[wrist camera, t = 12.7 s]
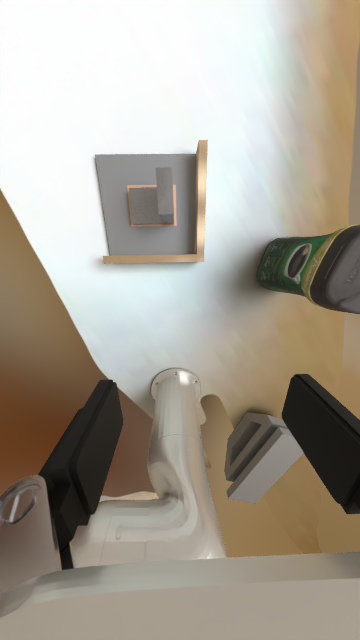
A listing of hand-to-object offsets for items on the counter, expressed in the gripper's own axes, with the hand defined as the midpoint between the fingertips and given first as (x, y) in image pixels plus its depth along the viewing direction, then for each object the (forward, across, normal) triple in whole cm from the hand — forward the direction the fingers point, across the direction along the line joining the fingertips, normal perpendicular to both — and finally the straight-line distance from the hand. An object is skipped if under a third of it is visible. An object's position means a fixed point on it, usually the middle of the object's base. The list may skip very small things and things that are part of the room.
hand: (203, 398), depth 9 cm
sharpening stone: (+29, -19, +41) cm, 53 cm away
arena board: (+28, +5, -14) cm, 32 cm away
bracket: (+27, +5, -15) cm, 31 cm away
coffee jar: (+28, -19, -5) cm, 35 cm away
